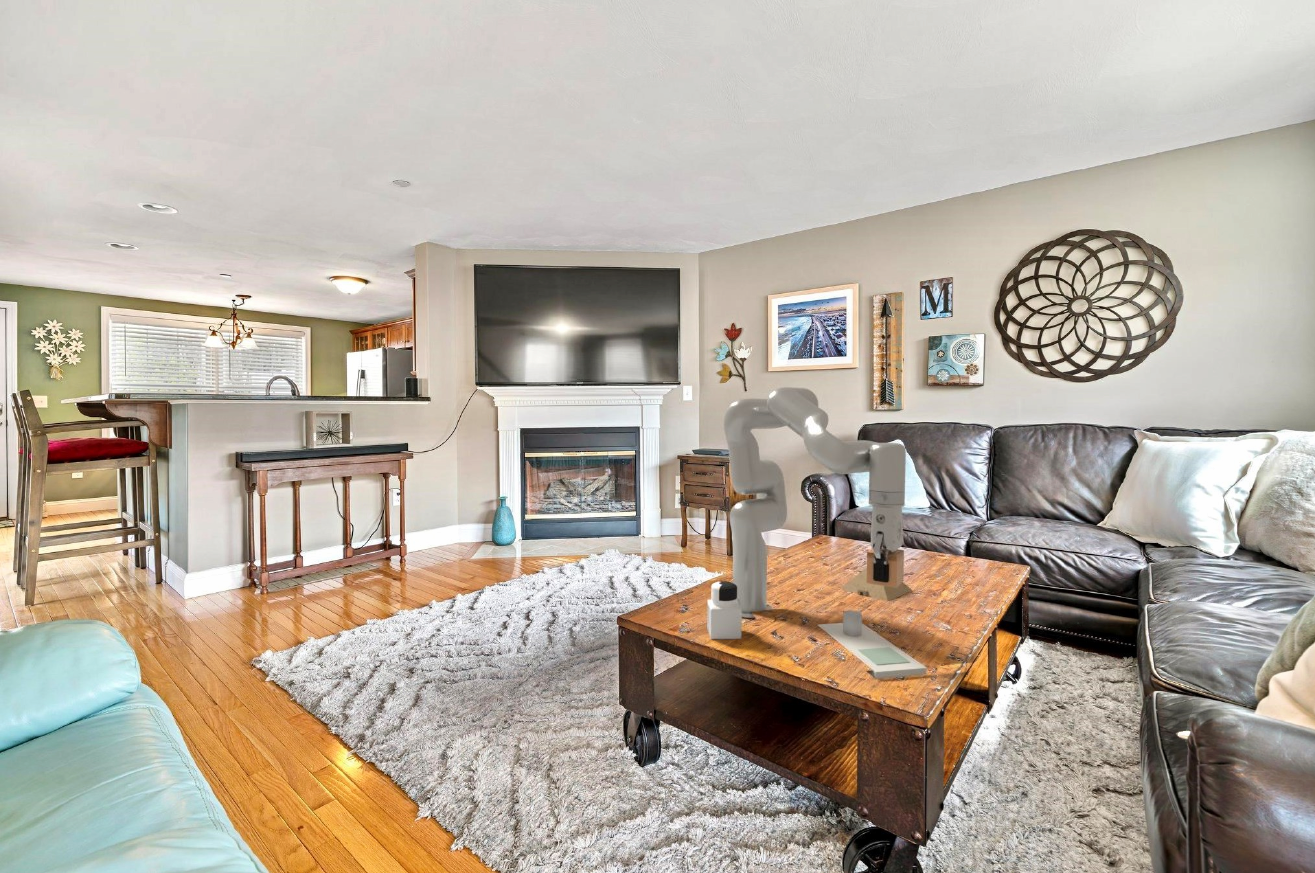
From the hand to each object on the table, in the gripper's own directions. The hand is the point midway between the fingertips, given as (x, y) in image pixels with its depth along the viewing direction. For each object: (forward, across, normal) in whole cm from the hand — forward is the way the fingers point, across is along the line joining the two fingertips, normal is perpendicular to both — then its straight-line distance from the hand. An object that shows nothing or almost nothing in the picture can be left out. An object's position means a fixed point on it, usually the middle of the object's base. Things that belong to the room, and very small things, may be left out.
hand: (885, 576), depth 134 cm
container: (+20, -5, +38) cm, 43 cm away
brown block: (+1, 0, 0) cm, 1 cm away
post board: (+20, +5, +5) cm, 21 cm away
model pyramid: (+20, +55, +16) cm, 61 cm away
